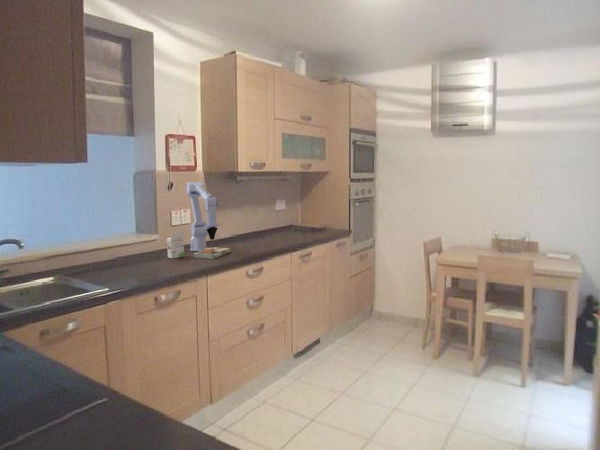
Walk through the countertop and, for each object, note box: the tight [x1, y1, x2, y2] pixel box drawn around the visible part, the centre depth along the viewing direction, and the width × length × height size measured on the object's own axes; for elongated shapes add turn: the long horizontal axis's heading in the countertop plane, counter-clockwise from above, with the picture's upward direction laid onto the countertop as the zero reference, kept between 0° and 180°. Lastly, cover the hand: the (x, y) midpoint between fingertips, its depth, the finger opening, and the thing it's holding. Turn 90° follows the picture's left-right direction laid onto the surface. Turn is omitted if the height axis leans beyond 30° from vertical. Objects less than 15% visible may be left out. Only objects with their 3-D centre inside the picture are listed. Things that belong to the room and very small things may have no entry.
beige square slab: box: [202, 246, 231, 257], centre depth 276 cm, size 13×12×2 cm
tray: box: [192, 251, 221, 260], centre depth 266 cm, size 14×9×2 cm
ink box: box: [166, 231, 185, 259], centre depth 264 cm, size 9×5×15 cm, turn 135°
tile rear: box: [203, 247, 214, 253], centre depth 267 cm, size 5×5×2 cm
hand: (212, 239), depth 271 cm, fingers closed
